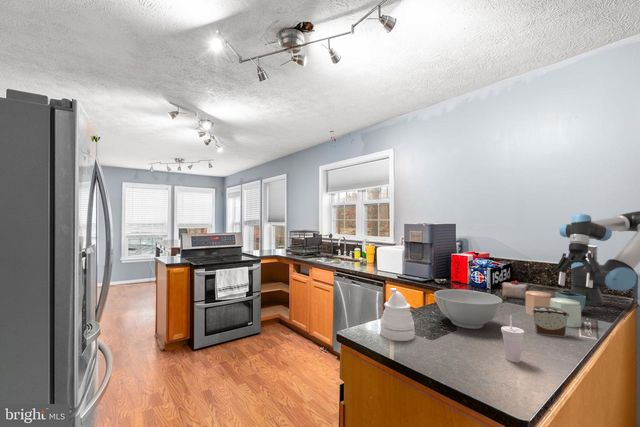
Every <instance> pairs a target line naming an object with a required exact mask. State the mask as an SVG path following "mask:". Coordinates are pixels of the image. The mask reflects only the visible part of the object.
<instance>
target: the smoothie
mask: <svg viewBox="0 0 640 427" xmlns="http://www.w3.org/2000/svg"><path fill="white" fill-rule="evenodd" d="M512 316H513V315H509V325H507V326H506V325H505V326H501V328H500V331H501V334H502V340H503V345H504V346H503V347H504V352H505V353H504V354H505V358H506V359H505V360H507V361H509V362H512V363H520V362H521V357H522V355H521V354H522V349H523V348H522V347H523V340H524V336H525V331H524V330H523V329H522V328H519V327H516V326H513V320H512V319H513V317H512Z"/></svg>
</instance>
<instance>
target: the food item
mask: <svg viewBox="0 0 640 427" xmlns="http://www.w3.org/2000/svg"><path fill="white" fill-rule="evenodd" d="M501 286H502V297H504V298H512V299H518V300H524V301H526V298H525V293H526V291H530V285H529V284H525V283H524V284H523V283H520V282H519V281H517V280H513V281H511V282H503V283H501Z"/></svg>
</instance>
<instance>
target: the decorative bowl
mask: <svg viewBox="0 0 640 427" xmlns="http://www.w3.org/2000/svg"><path fill="white" fill-rule="evenodd" d="M433 295H434V296H433V297H434V300H435V302H436V304H437V306H438V308H439V310H440V311H441V312H442V314H443V315H444V316H445V317H446V318H447V319H449V320H450V321H451V324H453V325H455V326H457V327H460V328H463V329H471V330H472V329H475V330H476V329H482V328H483V326H484V325H485V324H488V323H489V322H491V321H492V320H493V319H494V318H495V317H496V316H497V315H498V313H499V311H501V307H502V304H503V299H502V298H501V297H500V296H498V295H495V294H491V293H487V292H483V291H478V290H470V289H469V290H468V289H460V288H459V289H440V290H436V291H435V292H434V293H433Z"/></svg>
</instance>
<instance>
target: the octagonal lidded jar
mask: <svg viewBox="0 0 640 427" xmlns="http://www.w3.org/2000/svg"><path fill="white" fill-rule="evenodd" d="M525 298H526V300H525V312H526V313H525V314H528V315H529V316H530V315H531V316H534V313H532V308H533V307H534V306H549V307H550V300H551V298H553V297H552V294H551V293H548V292H545V291H538V290H529V291H526V293H525Z"/></svg>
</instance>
